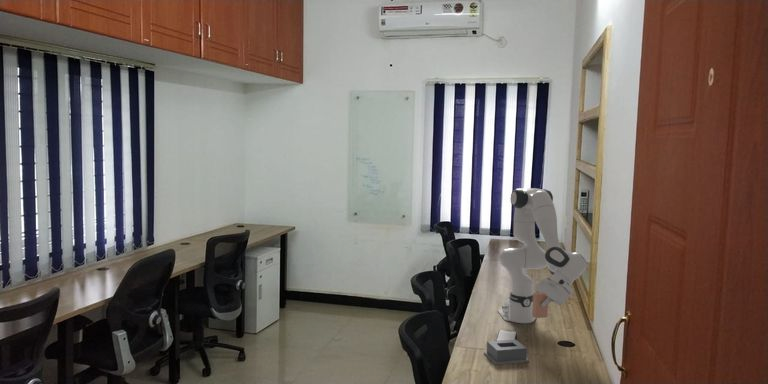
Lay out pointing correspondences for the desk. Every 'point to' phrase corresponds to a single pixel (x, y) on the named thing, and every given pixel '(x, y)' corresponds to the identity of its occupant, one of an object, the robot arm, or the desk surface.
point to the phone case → (506, 335)
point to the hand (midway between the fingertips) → (539, 304)
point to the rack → (506, 352)
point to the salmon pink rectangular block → (537, 308)
